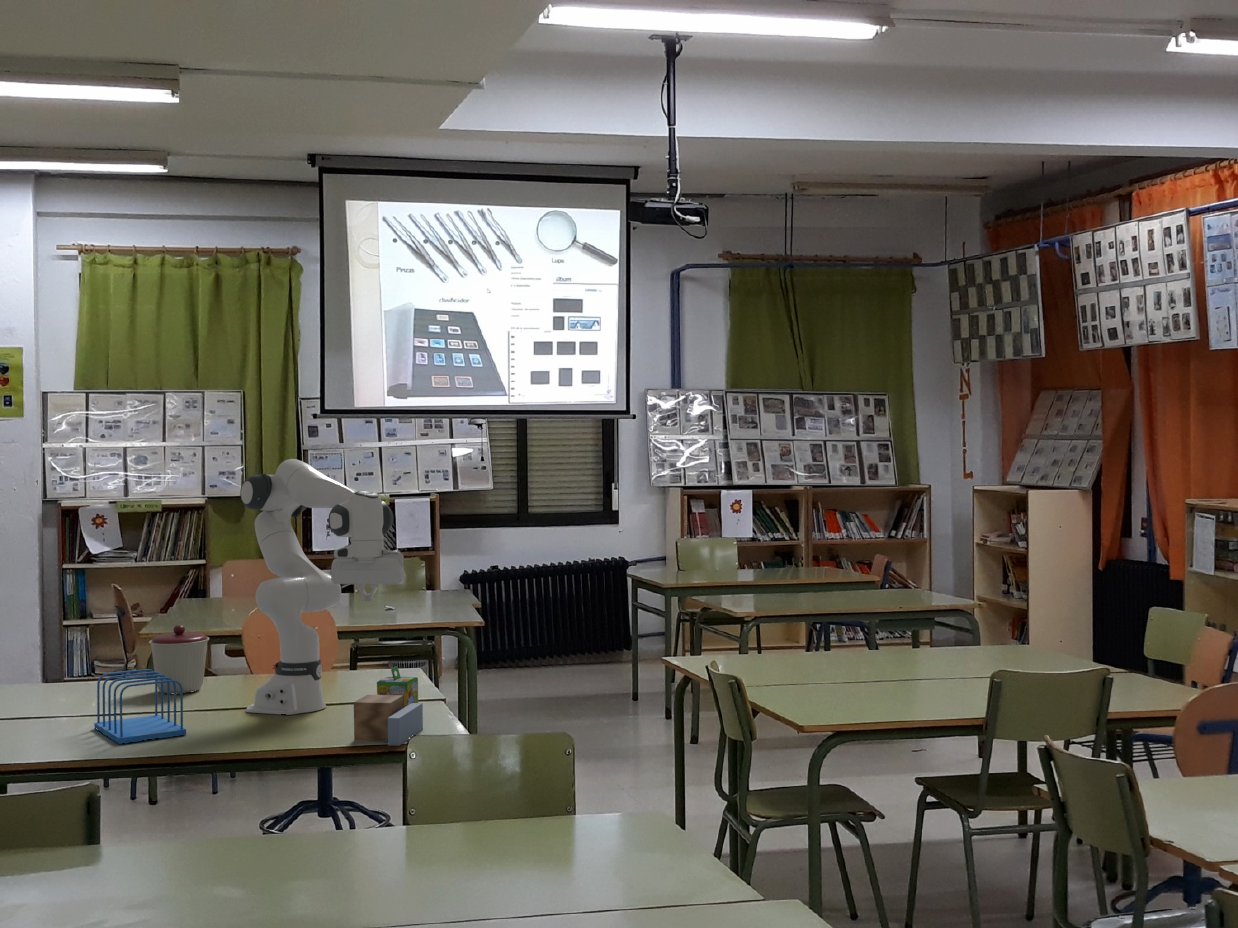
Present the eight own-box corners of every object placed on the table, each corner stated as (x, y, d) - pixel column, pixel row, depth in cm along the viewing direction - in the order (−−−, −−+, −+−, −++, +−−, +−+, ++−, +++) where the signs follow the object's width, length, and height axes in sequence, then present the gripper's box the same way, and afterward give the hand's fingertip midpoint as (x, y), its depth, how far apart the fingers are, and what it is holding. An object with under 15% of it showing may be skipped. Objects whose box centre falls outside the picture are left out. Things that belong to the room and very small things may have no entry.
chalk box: (408, 724, 341) (407, 670, 341) (376, 723, 343) (375, 669, 343) (420, 717, 350) (419, 664, 350) (389, 716, 352) (388, 663, 352)
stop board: (388, 745, 317) (387, 717, 316) (412, 728, 335) (411, 702, 335) (399, 745, 316) (398, 718, 316) (422, 728, 335) (422, 703, 335)
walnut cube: (354, 740, 323) (353, 702, 323) (367, 731, 333) (367, 694, 333) (391, 741, 321) (390, 702, 321) (403, 732, 331) (403, 695, 331)
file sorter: (186, 736, 331) (185, 678, 331) (118, 746, 321) (117, 686, 321) (158, 720, 351) (157, 666, 351) (93, 729, 341) (92, 673, 341)
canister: (167, 685, 404) (166, 621, 404) (220, 686, 402) (219, 621, 401) (138, 696, 386) (137, 628, 386) (193, 697, 384) (192, 629, 383)
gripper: (407, 549, 343) (408, 599, 343) (337, 549, 346) (337, 598, 346) (399, 551, 337) (400, 602, 337) (328, 551, 340) (328, 601, 340)
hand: (368, 600), depth 341 cm, fingers closed
